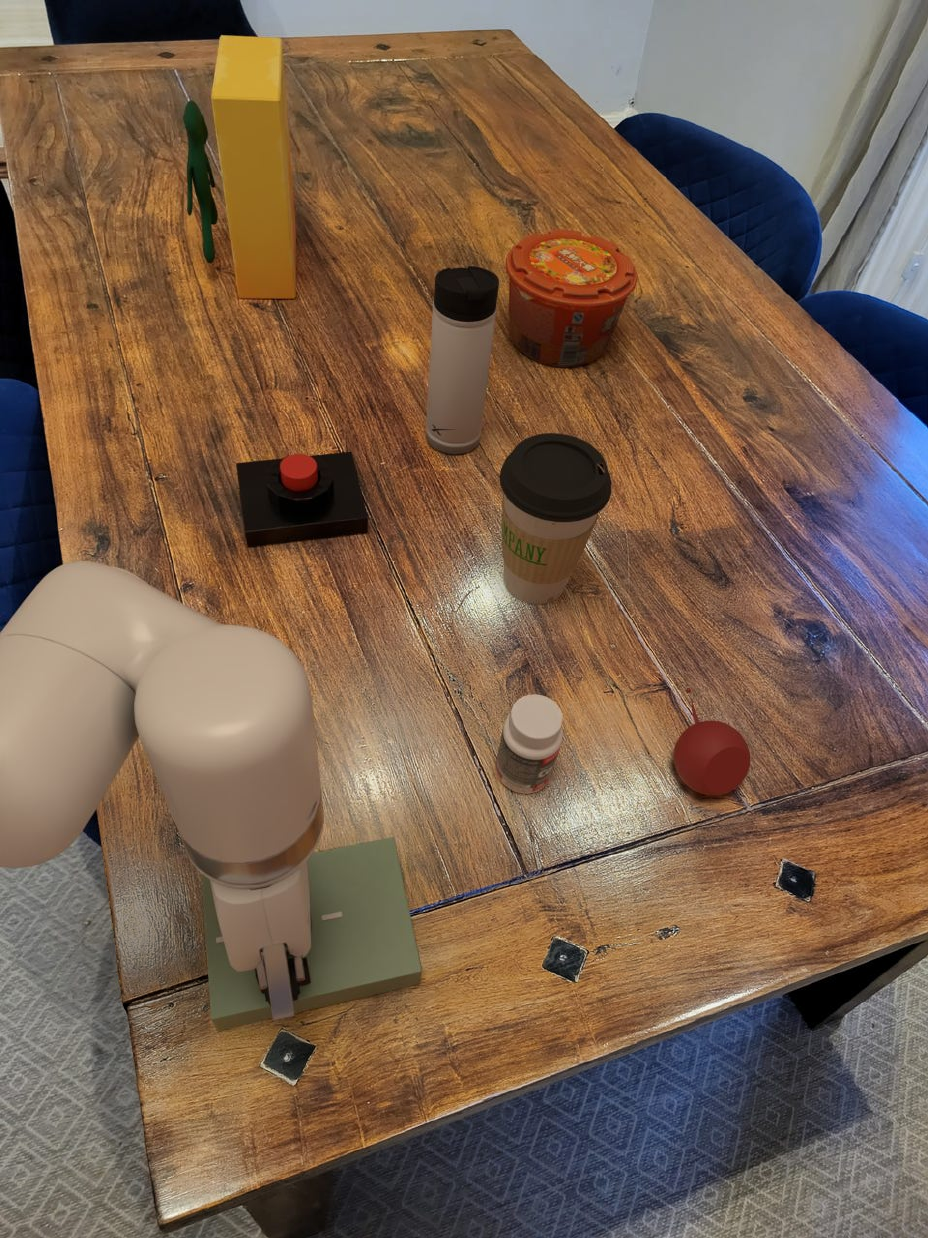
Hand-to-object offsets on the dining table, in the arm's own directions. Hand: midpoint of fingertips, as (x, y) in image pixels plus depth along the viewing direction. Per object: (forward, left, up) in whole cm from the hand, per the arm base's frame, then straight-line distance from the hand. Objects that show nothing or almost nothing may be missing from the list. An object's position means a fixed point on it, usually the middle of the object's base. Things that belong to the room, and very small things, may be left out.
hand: (279, 924), depth 60 cm
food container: (+43, +69, -4) cm, 81 cm away
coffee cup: (+28, +30, -4) cm, 41 cm away
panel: (+2, 0, -4) cm, 4 cm away
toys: (+6, +91, -4) cm, 91 cm away
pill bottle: (+21, +10, -4) cm, 24 cm away
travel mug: (+25, +52, -4) cm, 58 cm away
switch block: (+7, +44, -4) cm, 45 cm away
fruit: (+36, +8, -4) cm, 37 cm away
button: (+7, +44, 0) cm, 45 cm away
